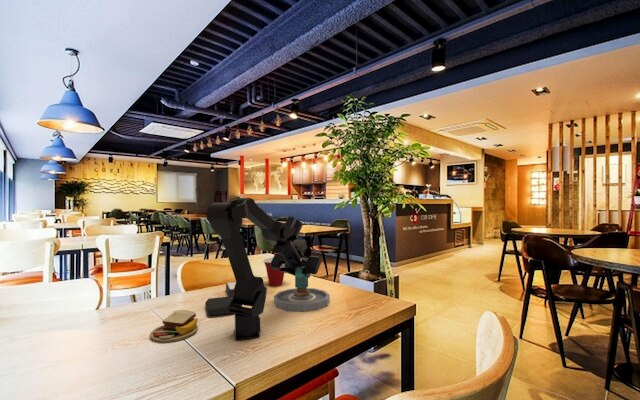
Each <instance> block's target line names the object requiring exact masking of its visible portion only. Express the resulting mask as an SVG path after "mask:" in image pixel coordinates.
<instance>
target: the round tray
mask: <svg viewBox="0 0 640 400" xmlns="http://www.w3.org/2000/svg"><path fill="white" fill-rule="evenodd" d="M294 290H297V288H296V287H294V288H288V289H285V290H280V291H278V292H277V293H276V294H274V295H273V304H274V306H275V307H276V308H278V309H279V310H280V309H281V310H283V311H286V312H300V313H304V312H311V311H318V310H321V309H323V308H326V307H328V305H329V304H330V299H331V298H330V296H331V295H330V293H329V292H327V291H325V290H323V289H319V288H309V287H307V290H309V291H310V295H309V296H306V297H297V296H294Z"/></svg>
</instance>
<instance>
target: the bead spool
mask: <svg viewBox="0 0 640 400" xmlns="http://www.w3.org/2000/svg"><path fill="white" fill-rule="evenodd" d="M305 258H306V257H302V259H305ZM303 268H304V267H303V266H301V268H299V267H298V268H295V276H294V277H295V278H294V279H295V280H294V282H295V283H294V285H295V287H294V288H297V290H294V296H297V297H306V296H309V295H310V291H309V290H307V288H309V278H308V277H306V276H305V275H303V274H302V271H303Z"/></svg>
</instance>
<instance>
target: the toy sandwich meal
mask: <svg viewBox="0 0 640 400" xmlns="http://www.w3.org/2000/svg"><path fill="white" fill-rule="evenodd" d="M196 316H197V313H196V312H195V311H193V310H186V309H178V310H174V311H173V312H172V313H170V314H169V315H168V316H167V317H165V318H164V319H163V320H162V321H161V322H162V324H163V325H160V326H158V327H156V328H154V329H152V331H150V334H149V337H150V338H151V339H152V340H154V341H155V340H157V341H156V342H158V341H162V342H161V343H171V342H172V341H173V342H177V341H181V340H184V339H187V338H189V337H191V336H193V334H195V333H196V332H197V331H198V328H199V326H198V325H197V323H198V321H199V318H198V317H197V318H196Z"/></svg>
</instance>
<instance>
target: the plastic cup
mask: <svg viewBox="0 0 640 400" xmlns="http://www.w3.org/2000/svg"><path fill="white" fill-rule="evenodd" d="M273 257H274V256H273ZM273 257H268V258H264V259H263V260H262V262H263V263H264V266H265V269H266V275H267V279H268V285H269V286H270V287H281V286H283V282H284V277H285V272H282V271H280V269H281V268H280V269H279V270H273V269H272V268H271V267H270V263H271V261H272V259H273Z"/></svg>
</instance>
